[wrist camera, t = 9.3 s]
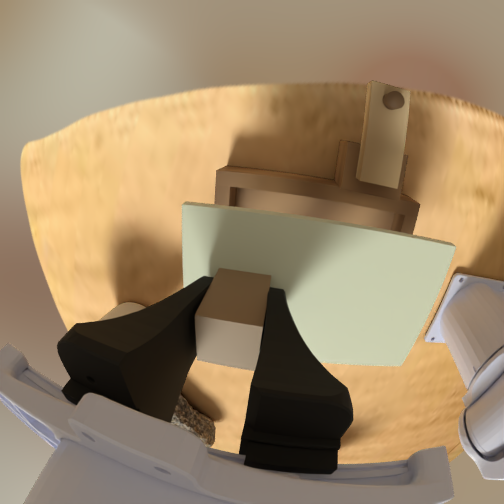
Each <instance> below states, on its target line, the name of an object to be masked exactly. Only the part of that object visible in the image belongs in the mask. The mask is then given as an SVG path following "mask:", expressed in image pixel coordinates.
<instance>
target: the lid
mask: <svg viewBox="0 0 504 504" xmlns="http://www.w3.org/2000/svg"><path fill="white" fill-rule="evenodd" d="M455 249H456V246H455V245H454V244H452V243H450V242H446V241H441V240H436V239H432V238H427V237H422V236H417V235H412V234H407V233H402V232H397V231H391V230H386V229H381V228H375V227H370V226H364V225H358V224H352V223H346V222H340V221H334V220H328V219H321V218H315V217H308V216H301V215H294V214H287V213H280V212H273V211H265V210H257V209H249V208H241V207H233V206H224V205H215V204H205V203H196V202H185V203H183V204H182V257H183V285H184V288H185V287H186V286H188V285H189V284H191V283H193V282H194V281H196V280H197V279H199V278H201V277H202V276H208V277H214V279H213V281H212V283H211V285H210V286H209V288H208V290H207V292H206V294H205V296H204V298H203V300H202V302H201V304H200V306H199V308H198V310H197V312H196V314H195V331H196V349H197V360H199V361H204V362H208V363H213V364H218V365H223V366H228V367H234V368H240V369H246V370H252V371H255V368H256V364H257V361H258V357H259V353H260V345H261V339H262V333H263V326H264V319H265V313H266V306H267V295H268V292H269V288H270V287H272V288H279V289H284V291H285V295H286V300H287V304H288V307H289V310H290V313H291V315H292V318H293V320H294V322H295V325H296V327H297V329H298V331H299V333H300V335H301V336H302V338H303V340H304V341H305V343H306V345H307V346H308V348H309V349H310V351H311V352H312V353H313V355H314V356H315V357H316V358H317V359H318V361H319V362H322V363H334V364H349V365H370V366H401V365H402V364H403V362H404V360H405V359H406V357H407V355H408V353H409V352H410V350H411V348H412V346H413V345H414V343H415V341H416V339H417V337H418V335H419V333H420V332H421V330H422V328H423V326H424V324H425V322H426V320H427V318H428V315H429V313H430V311H431V309H432V307H433V305H434V303H435V300H436V298H437V296H438V294H439V291H440V289H441V286H442V284H443V282H444V279H445V277H446V274H447V271H448V269H449V266H450V263H451V261H452V258H453V255H454V252H455Z"/></svg>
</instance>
